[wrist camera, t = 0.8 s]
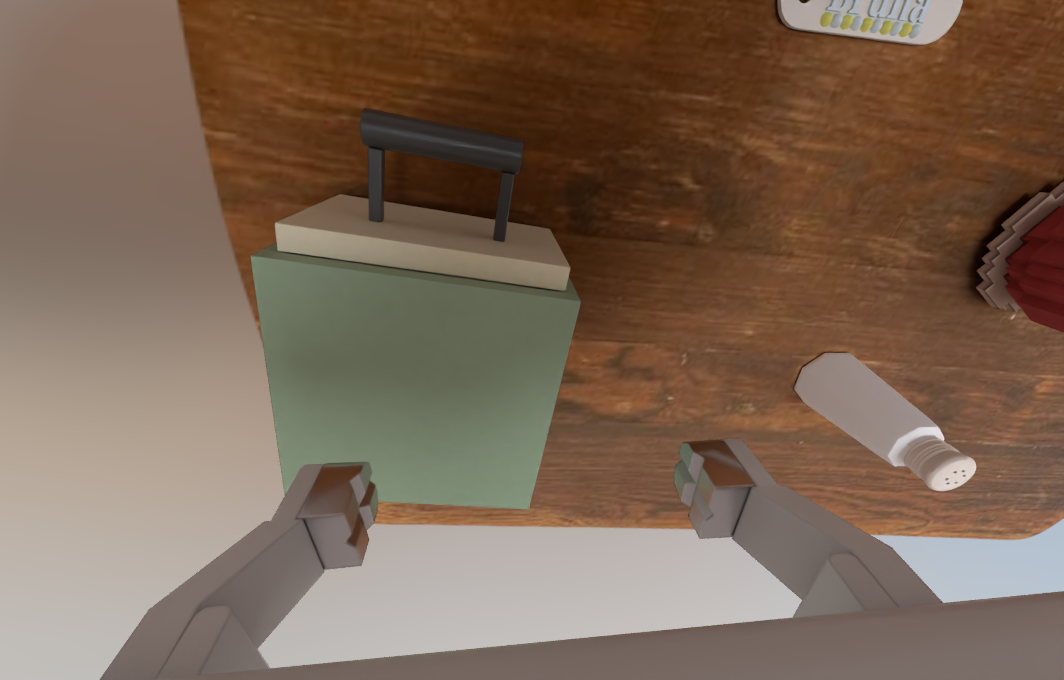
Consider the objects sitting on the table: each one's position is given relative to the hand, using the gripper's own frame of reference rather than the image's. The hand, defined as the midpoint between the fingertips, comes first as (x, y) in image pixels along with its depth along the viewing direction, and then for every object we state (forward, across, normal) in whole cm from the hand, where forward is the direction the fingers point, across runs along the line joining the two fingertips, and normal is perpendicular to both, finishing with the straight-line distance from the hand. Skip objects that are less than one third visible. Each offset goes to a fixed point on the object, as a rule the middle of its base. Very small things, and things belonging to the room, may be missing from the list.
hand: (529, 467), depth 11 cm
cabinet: (+19, +5, +5) cm, 20 cm away
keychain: (+19, -20, -14) cm, 31 cm away
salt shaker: (+19, -27, +11) cm, 34 cm away
